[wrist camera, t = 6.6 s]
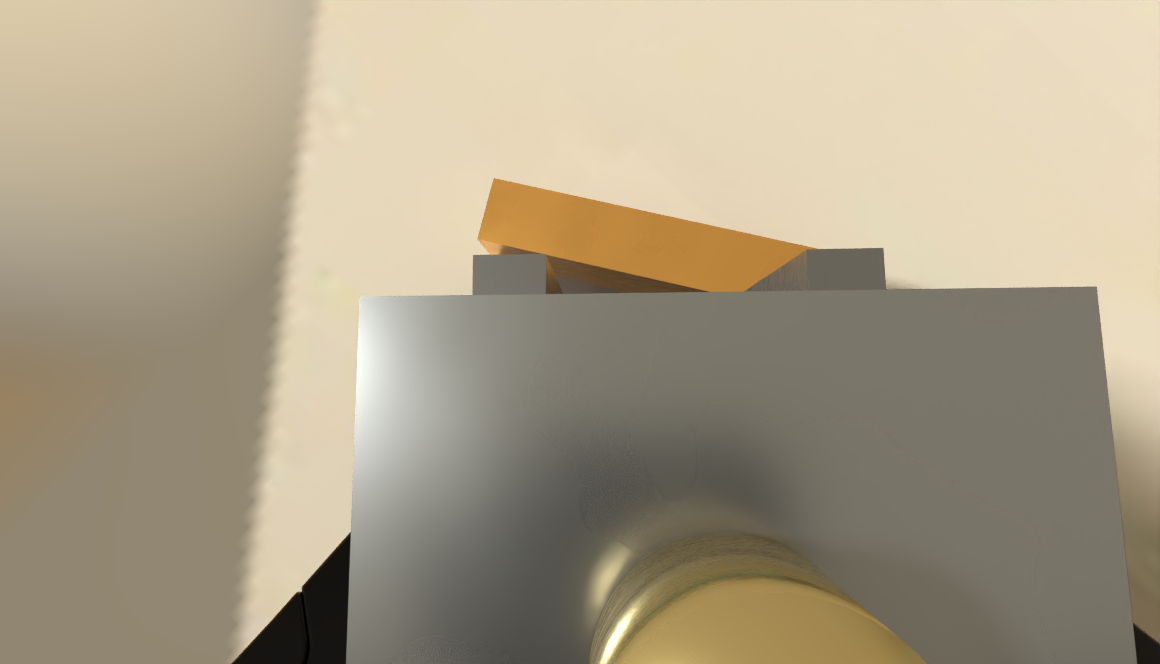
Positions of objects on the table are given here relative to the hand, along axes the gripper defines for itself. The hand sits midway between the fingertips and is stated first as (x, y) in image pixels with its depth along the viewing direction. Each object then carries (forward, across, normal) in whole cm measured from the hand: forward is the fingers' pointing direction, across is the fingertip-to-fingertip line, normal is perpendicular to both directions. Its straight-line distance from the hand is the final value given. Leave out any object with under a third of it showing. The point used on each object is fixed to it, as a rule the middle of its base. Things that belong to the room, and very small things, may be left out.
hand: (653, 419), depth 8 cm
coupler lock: (+4, 0, +6) cm, 7 cm away
